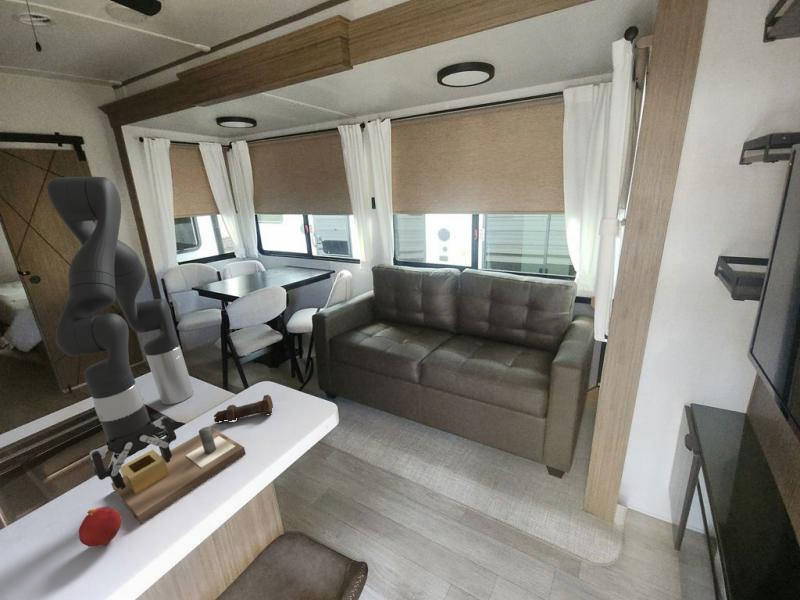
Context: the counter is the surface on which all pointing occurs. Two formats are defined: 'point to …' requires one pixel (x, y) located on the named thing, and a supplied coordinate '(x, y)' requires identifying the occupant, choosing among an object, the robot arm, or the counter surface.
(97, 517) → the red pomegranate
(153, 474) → the collar
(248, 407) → the bolt
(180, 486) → the post board
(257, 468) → the counter surface
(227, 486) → the counter surface
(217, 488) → the counter surface
